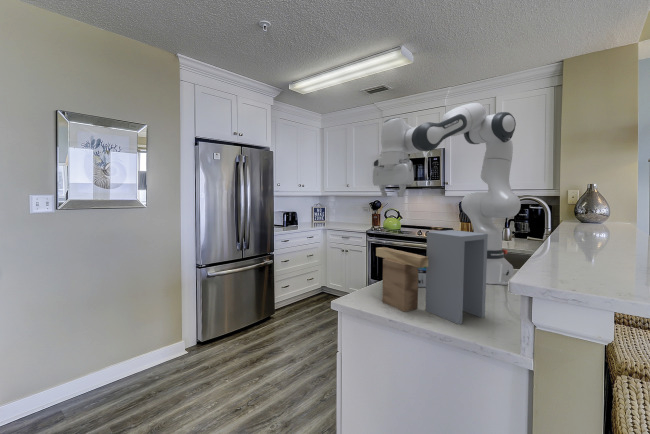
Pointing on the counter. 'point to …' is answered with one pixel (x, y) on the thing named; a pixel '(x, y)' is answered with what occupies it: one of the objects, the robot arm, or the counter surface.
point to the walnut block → (400, 285)
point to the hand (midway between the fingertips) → (392, 197)
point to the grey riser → (456, 274)
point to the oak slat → (402, 257)
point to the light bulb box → (422, 277)
